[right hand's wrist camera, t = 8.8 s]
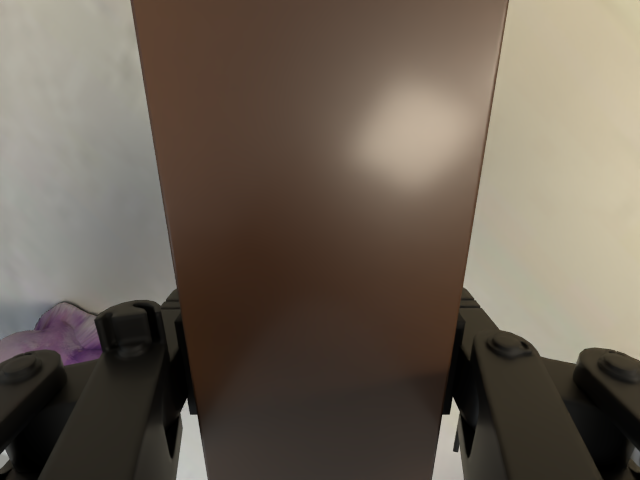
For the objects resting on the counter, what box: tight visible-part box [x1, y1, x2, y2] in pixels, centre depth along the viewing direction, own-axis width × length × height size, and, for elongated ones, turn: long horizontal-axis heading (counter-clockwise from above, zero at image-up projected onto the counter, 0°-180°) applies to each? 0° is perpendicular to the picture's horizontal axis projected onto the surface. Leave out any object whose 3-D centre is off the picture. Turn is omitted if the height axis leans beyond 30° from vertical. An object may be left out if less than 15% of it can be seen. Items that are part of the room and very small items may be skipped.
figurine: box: [0, 303, 102, 366], centre depth 24 cm, size 9×10×15 cm
